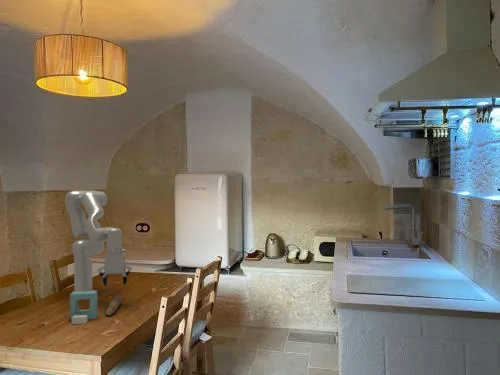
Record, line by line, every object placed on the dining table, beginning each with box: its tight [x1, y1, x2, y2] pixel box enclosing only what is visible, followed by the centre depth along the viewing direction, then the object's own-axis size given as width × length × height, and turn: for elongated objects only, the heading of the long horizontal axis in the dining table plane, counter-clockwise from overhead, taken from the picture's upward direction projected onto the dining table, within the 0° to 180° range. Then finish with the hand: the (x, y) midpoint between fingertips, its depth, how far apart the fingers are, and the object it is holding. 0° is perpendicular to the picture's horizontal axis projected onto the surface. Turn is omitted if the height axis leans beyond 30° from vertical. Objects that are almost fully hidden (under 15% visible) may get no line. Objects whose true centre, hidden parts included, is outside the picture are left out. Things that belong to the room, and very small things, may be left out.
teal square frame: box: [69, 290, 98, 321], centre depth 190 cm, size 5×11×12 cm, turn 98°
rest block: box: [71, 315, 89, 325], centre depth 183 cm, size 3×6×3 cm, turn 97°
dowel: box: [104, 294, 123, 316], centre depth 202 cm, size 22×4×4 cm
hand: (115, 284), depth 210 cm, fingers open, 9 cm apart
